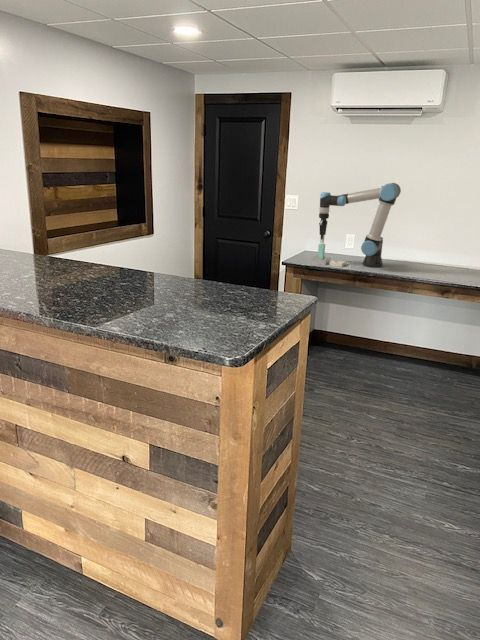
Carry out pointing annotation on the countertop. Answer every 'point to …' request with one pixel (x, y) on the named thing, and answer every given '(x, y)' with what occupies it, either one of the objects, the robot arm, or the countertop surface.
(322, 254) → the plug
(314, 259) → the port panel
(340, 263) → the holster
